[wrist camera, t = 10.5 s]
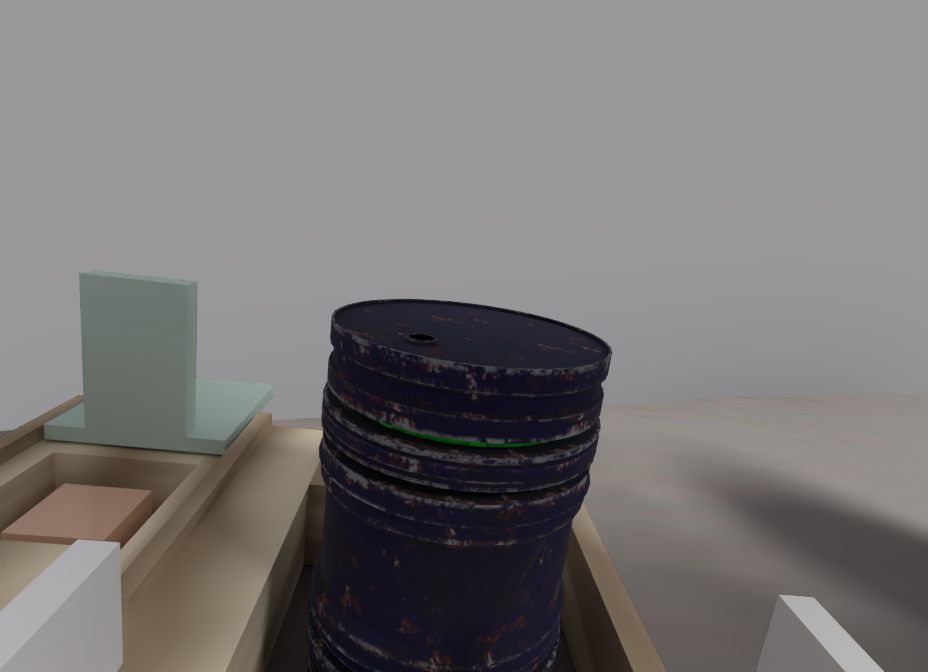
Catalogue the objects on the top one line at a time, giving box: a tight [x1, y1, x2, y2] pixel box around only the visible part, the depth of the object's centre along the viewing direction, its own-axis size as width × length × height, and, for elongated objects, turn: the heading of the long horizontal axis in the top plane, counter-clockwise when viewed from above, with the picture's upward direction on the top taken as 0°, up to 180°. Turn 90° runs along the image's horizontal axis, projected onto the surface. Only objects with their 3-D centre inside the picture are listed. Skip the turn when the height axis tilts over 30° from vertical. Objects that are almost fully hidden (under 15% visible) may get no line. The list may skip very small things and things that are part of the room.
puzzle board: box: [0, 395, 667, 672], centre depth 22 cm, size 30×24×5 cm
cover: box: [44, 270, 274, 455], centre depth 32 cm, size 9×9×9 cm
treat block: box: [1, 483, 152, 549], centre depth 25 cm, size 4×4×4 cm
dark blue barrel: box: [306, 299, 612, 672], centre depth 21 cm, size 10×10×15 cm
